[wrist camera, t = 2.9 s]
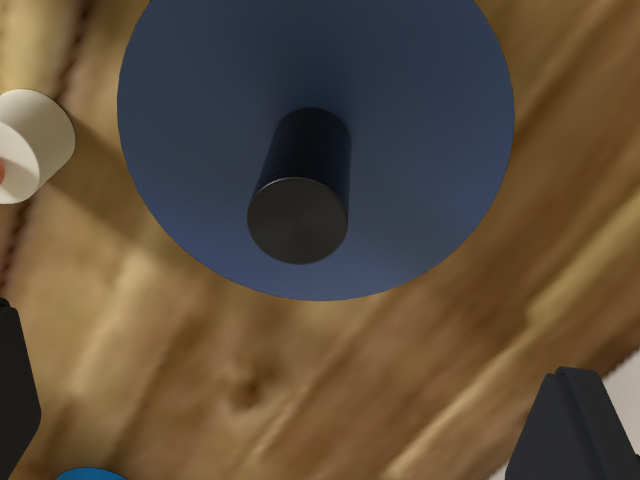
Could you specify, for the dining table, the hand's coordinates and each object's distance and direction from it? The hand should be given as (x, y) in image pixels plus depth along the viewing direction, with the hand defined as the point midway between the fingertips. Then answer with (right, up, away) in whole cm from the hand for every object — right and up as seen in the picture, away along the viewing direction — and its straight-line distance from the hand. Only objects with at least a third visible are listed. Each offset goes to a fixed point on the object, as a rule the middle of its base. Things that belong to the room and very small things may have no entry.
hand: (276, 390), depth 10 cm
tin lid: (+1, +6, +9) cm, 11 cm away
